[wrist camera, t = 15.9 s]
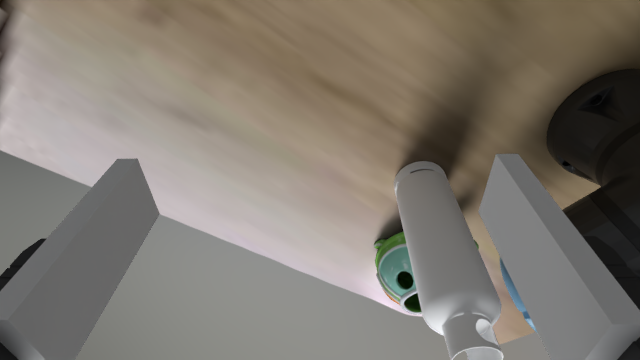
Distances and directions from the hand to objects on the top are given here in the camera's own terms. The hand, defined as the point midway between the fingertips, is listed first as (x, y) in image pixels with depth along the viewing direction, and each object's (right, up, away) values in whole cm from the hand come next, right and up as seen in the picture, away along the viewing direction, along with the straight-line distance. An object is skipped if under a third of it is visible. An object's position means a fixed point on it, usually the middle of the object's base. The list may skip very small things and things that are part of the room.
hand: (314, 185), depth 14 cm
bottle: (+16, 0, +43) cm, 46 cm away
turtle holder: (+17, -10, +51) cm, 55 cm away
